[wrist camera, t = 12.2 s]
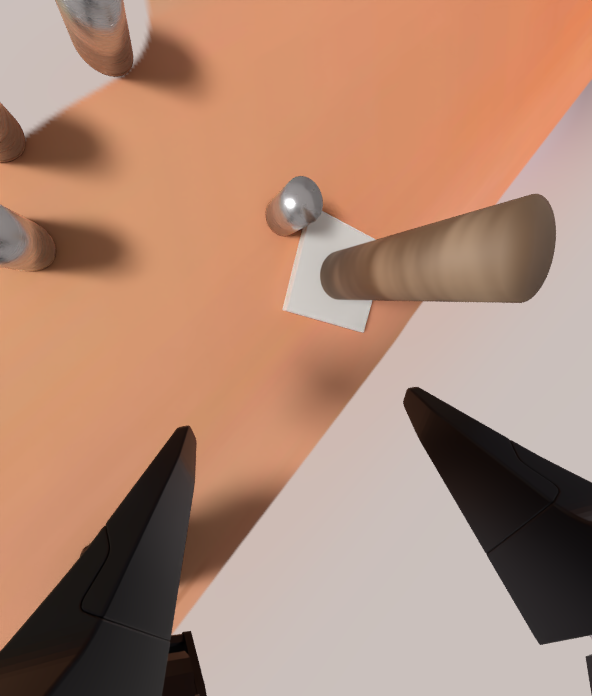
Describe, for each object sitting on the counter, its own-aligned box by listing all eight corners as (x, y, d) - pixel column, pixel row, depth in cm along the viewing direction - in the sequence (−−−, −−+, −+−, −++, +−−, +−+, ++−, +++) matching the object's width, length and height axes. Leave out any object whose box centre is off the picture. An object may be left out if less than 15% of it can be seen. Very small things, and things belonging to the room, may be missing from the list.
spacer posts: (271, 330, 22) (289, 336, 19) (-74, 248, 13) (-168, 230, 9) (315, 153, 21) (343, 124, 17) (-34, -76, 12) (-125, -238, 8)
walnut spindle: (340, 309, 24) (517, 322, 11) (311, 275, 22) (487, 247, 9) (366, 275, 24) (562, 253, 12) (340, 240, 22) (543, 169, 10)
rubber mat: (357, 331, 26) (363, 332, 25) (282, 309, 22) (286, 310, 21) (380, 247, 26) (387, 246, 25) (307, 209, 21) (312, 205, 21)
